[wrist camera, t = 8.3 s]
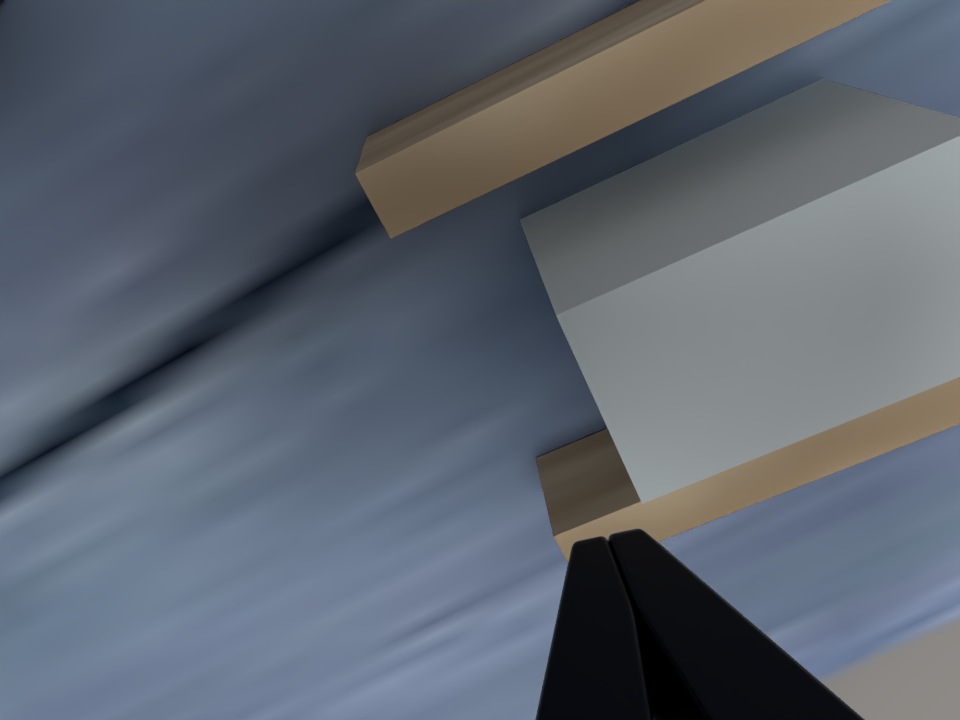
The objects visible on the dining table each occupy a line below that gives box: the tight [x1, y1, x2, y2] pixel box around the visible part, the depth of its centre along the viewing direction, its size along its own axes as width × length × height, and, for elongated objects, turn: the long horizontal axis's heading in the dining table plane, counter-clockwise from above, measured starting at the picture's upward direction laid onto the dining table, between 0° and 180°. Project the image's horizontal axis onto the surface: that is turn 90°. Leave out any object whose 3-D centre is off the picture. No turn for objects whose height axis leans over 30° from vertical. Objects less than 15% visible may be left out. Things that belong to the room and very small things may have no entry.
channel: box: [355, 0, 960, 562], centre depth 18 cm, size 12×16×4 cm
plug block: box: [520, 78, 960, 504], centre depth 17 cm, size 5×8×6 cm, turn 115°
